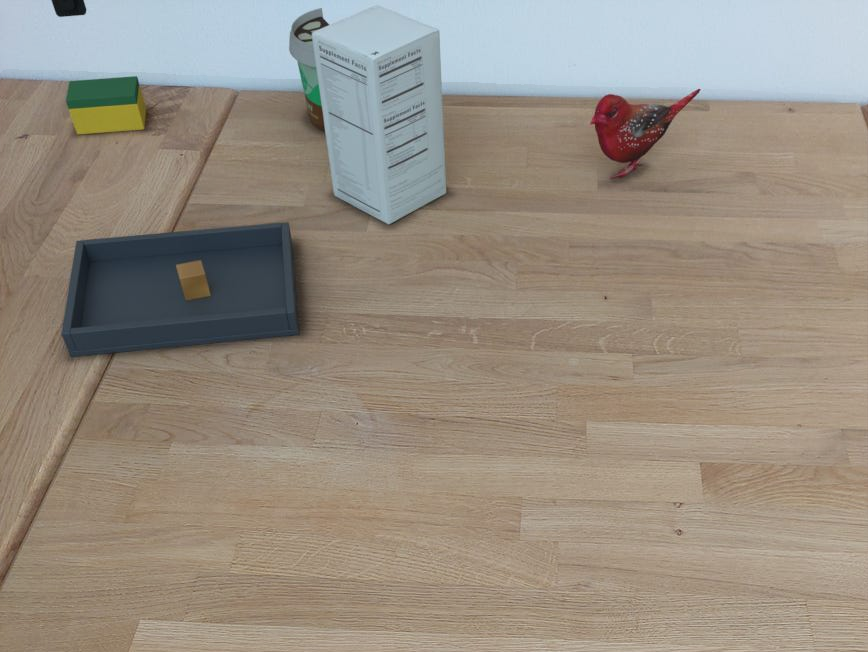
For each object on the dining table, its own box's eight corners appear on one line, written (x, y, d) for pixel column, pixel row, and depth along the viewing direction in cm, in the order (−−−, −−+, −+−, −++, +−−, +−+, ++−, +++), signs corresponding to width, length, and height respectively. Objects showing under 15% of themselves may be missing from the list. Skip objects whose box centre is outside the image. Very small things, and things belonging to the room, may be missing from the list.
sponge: (77, 134, 116) (65, 100, 113) (80, 115, 119) (69, 80, 116) (144, 129, 117) (134, 95, 114) (146, 109, 120) (137, 75, 117)
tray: (70, 357, 91) (60, 334, 89) (84, 263, 100) (76, 240, 98) (299, 334, 93) (294, 311, 91) (292, 244, 102) (288, 221, 100)
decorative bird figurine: (574, 190, 109) (582, 97, 100) (682, 138, 115) (697, 48, 107) (592, 200, 107) (601, 107, 99) (700, 148, 114) (716, 57, 106)
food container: (285, 105, 120) (270, 16, 112) (330, 94, 122) (319, 6, 114) (322, 149, 114) (309, 58, 106) (369, 137, 116) (360, 47, 108)
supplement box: (449, 194, 108) (444, 29, 94) (389, 227, 104) (375, 60, 91) (390, 164, 112) (377, 1, 98) (330, 195, 108) (308, 29, 94)
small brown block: (186, 301, 96) (179, 278, 94) (182, 286, 97) (175, 264, 95) (211, 296, 96) (205, 273, 94) (207, 282, 97) (201, 259, 95)
